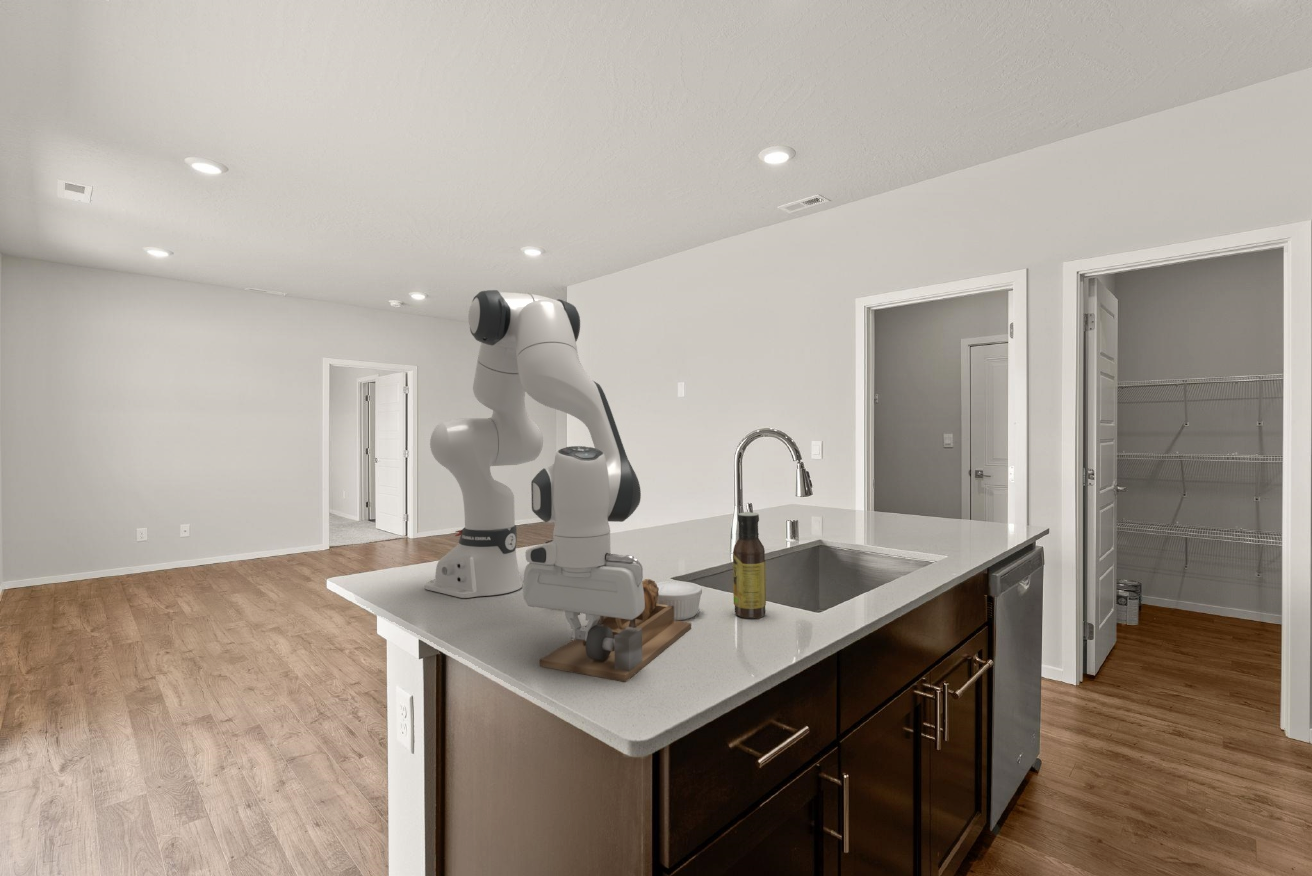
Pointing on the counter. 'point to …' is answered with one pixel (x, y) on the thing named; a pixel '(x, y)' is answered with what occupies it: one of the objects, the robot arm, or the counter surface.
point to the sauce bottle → (749, 569)
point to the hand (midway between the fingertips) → (583, 639)
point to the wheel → (599, 643)
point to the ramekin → (680, 597)
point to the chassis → (622, 646)
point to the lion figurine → (650, 604)
